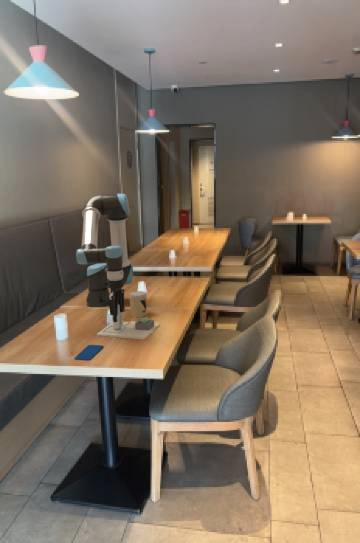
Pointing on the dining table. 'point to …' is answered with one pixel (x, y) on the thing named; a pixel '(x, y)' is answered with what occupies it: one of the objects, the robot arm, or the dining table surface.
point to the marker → (119, 319)
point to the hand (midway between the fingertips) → (118, 326)
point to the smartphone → (89, 352)
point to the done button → (144, 320)
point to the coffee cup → (138, 303)
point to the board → (130, 330)
